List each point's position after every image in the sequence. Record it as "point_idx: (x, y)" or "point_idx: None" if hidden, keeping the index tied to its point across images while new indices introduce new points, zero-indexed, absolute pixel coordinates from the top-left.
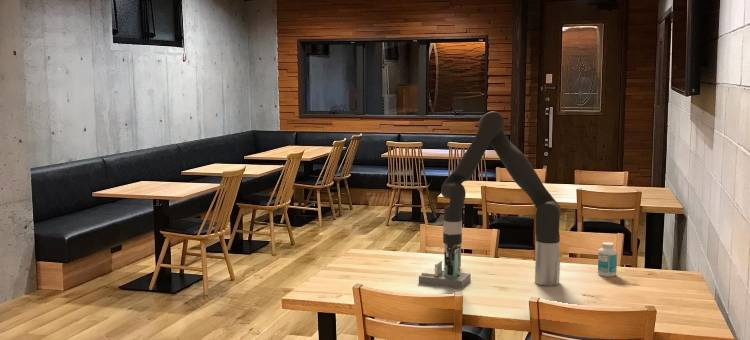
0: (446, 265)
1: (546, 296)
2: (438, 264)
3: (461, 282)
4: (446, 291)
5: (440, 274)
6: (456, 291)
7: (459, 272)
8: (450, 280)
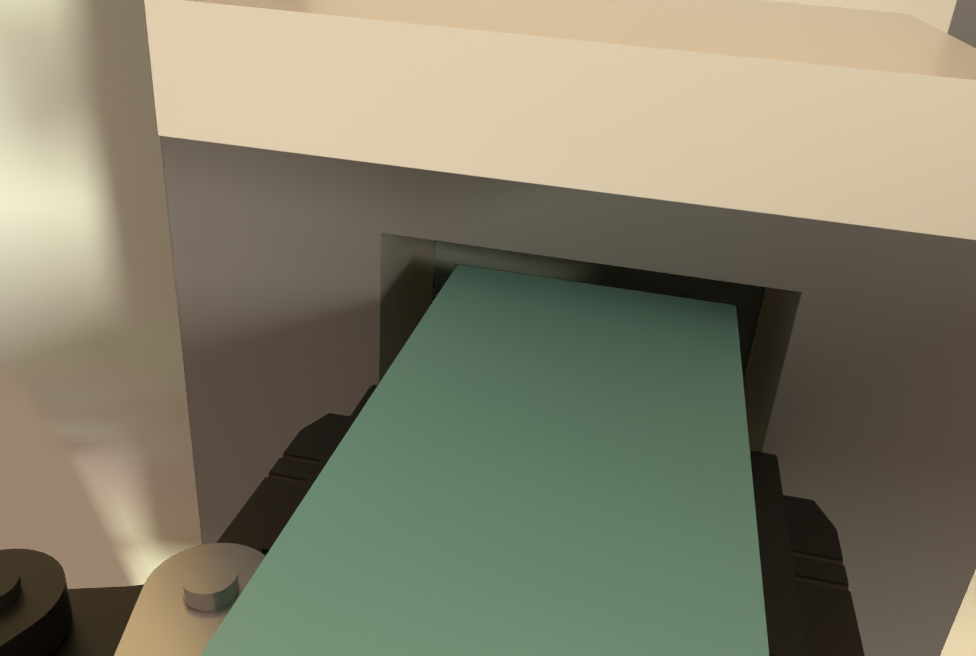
0: (325, 504)
1: None
2: (377, 146)
3: None
4: (9, 321)
5: None
6: (99, 475)
7: (957, 588)
8: (201, 432)
